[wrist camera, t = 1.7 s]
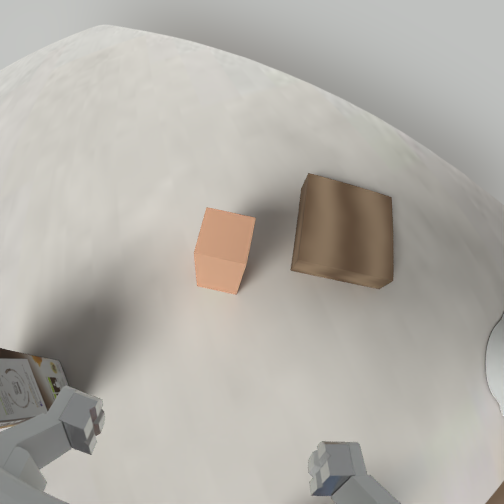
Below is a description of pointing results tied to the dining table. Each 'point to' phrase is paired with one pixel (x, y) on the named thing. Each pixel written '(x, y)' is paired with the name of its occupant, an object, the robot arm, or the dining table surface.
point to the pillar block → (223, 250)
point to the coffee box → (27, 386)
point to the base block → (344, 233)
